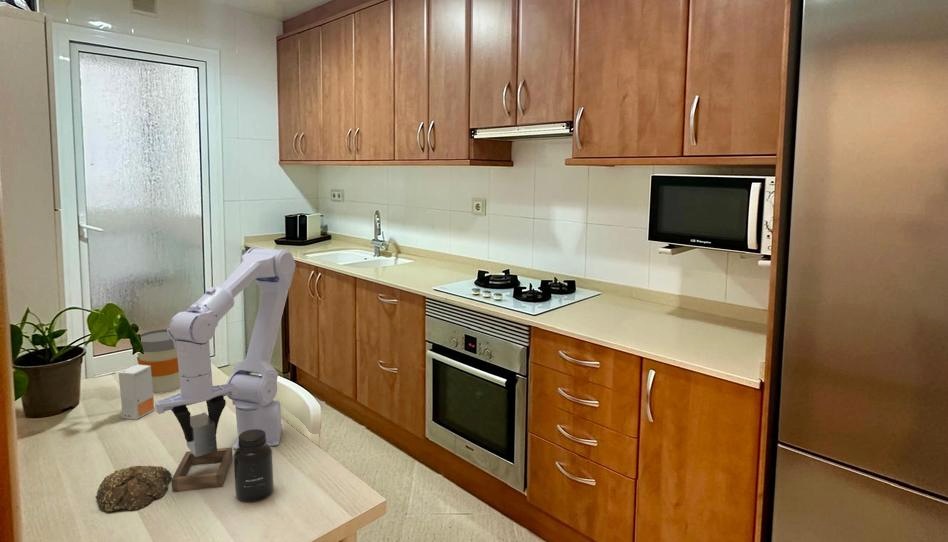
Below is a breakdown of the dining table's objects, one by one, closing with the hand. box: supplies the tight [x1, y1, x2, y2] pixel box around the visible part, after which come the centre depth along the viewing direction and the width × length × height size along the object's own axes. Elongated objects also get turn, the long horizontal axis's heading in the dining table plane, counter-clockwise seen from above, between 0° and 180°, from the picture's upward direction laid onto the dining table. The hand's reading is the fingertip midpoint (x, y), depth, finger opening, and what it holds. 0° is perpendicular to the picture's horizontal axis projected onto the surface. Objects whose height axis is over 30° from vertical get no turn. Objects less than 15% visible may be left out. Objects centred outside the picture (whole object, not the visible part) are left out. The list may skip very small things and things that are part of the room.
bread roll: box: [95, 465, 173, 513], centre depth 108 cm, size 13×12×5 cm
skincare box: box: [118, 363, 156, 421], centre depth 141 cm, size 6×4×12 cm
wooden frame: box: [170, 447, 234, 493], centre depth 115 cm, size 9×11×2 cm
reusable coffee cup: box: [136, 328, 180, 394], centre depth 158 cm, size 12×13×15 cm
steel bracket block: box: [185, 412, 218, 457], centre depth 114 cm, size 6×4×6 cm, turn 42°
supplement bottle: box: [233, 429, 274, 503], centre depth 108 cm, size 7×7×12 cm
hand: (200, 436), depth 114 cm, fingers closed on steel bracket block, 4 cm apart
